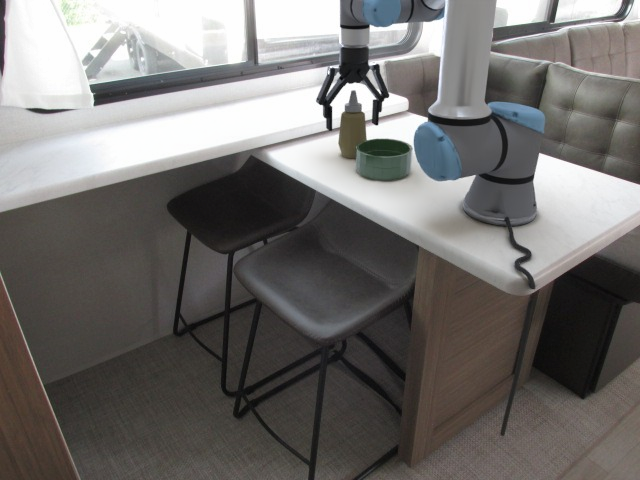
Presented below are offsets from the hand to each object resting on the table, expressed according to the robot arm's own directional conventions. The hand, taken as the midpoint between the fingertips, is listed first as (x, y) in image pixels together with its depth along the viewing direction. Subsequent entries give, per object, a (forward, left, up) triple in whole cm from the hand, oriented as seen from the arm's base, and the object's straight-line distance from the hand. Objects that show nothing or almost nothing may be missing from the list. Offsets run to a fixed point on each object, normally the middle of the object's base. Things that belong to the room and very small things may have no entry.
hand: (352, 126), depth 141 cm
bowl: (-14, -3, -8) cm, 17 cm away
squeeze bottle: (0, 0, -8) cm, 8 cm away
